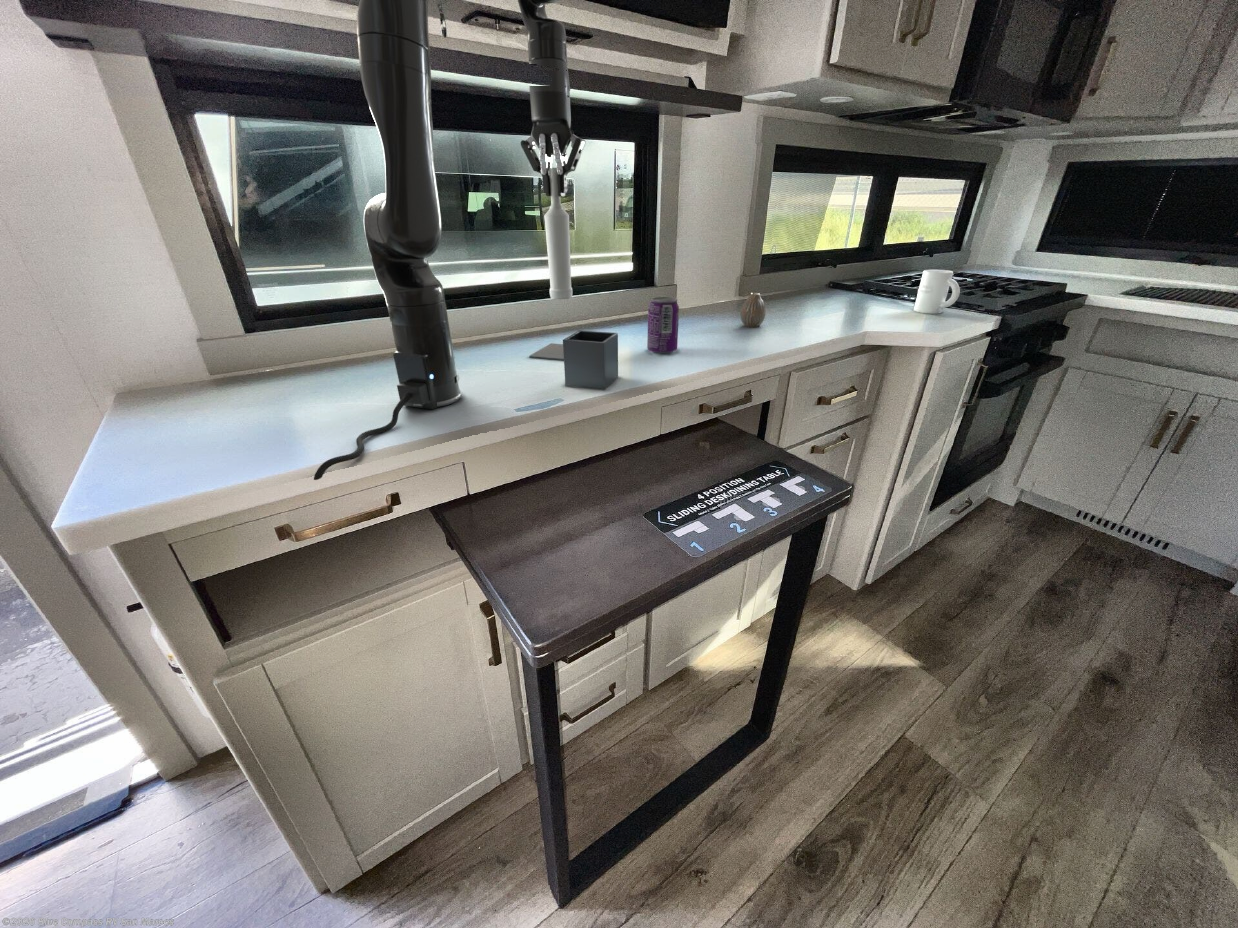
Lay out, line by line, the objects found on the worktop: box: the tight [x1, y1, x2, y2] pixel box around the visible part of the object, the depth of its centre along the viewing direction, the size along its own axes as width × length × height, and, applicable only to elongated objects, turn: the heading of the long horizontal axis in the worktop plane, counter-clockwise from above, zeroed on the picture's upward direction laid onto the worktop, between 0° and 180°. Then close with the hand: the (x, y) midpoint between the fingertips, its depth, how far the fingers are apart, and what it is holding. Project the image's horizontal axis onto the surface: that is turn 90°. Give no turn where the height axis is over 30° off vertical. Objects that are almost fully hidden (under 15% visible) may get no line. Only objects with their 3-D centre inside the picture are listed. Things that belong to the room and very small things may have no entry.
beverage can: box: [646, 296, 680, 355], centre depth 118 cm, size 7×7×12 cm
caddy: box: [562, 330, 619, 391], centre depth 99 cm, size 8×8×9 cm
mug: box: [913, 269, 961, 315], centre depth 156 cm, size 8×12×12 cm
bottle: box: [543, 167, 573, 300], centre depth 107 cm, size 5×5×25 cm
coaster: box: [528, 343, 564, 362], centre depth 120 cm, size 12×12×1 cm
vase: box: [740, 292, 767, 328], centre depth 142 cm, size 7×7×9 cm
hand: (555, 196), depth 104 cm, fingers closed on bottle, 2 cm apart
